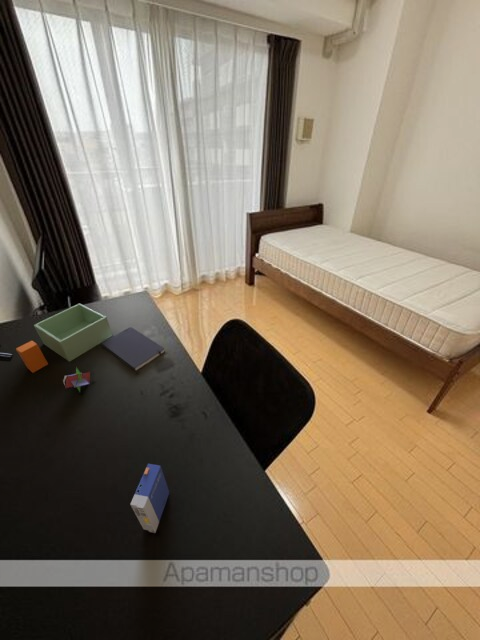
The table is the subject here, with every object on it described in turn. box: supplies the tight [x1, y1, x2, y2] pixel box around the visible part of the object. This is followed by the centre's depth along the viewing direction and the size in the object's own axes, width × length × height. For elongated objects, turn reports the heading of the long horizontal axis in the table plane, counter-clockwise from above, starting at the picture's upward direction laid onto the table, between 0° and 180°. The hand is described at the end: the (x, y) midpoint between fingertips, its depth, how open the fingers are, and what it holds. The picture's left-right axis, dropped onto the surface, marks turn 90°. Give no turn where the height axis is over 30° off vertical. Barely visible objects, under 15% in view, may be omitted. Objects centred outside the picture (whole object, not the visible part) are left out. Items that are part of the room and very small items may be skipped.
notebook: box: [100, 326, 166, 372], centre depth 103 cm, size 13×2×21 cm
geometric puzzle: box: [62, 366, 91, 393], centre depth 87 cm, size 7×7×8 cm
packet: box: [15, 340, 49, 374], centre depth 94 cm, size 4×5×9 cm
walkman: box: [130, 463, 170, 534], centre depth 57 cm, size 8×3×12 cm, turn 170°
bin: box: [33, 303, 114, 362], centre depth 106 cm, size 18×18×9 cm
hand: (5, 352), depth 87 cm, fingers open, 8 cm apart
